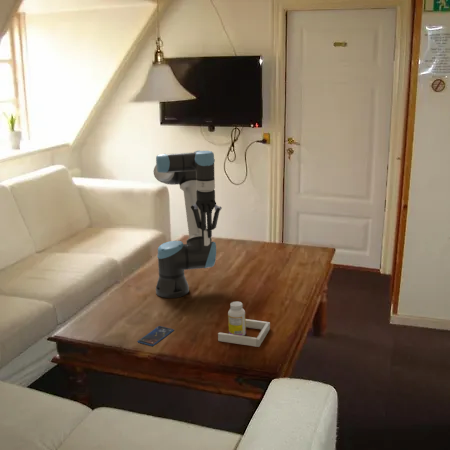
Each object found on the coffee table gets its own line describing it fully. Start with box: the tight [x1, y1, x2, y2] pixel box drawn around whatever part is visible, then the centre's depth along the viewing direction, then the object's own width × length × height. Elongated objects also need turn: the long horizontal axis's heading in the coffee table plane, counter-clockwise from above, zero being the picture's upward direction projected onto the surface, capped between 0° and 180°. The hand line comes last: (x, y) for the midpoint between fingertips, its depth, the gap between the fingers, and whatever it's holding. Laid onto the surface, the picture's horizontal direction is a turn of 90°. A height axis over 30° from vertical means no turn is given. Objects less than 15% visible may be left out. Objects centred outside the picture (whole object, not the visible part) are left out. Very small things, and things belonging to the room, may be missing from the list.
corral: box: [217, 318, 271, 348], centre depth 225 cm, size 16×15×3 cm
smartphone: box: [136, 325, 175, 347], centre depth 226 cm, size 8×1×15 cm
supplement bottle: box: [227, 301, 247, 336], centre depth 224 cm, size 7×7×13 cm
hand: (207, 244), depth 242 cm, fingers closed
